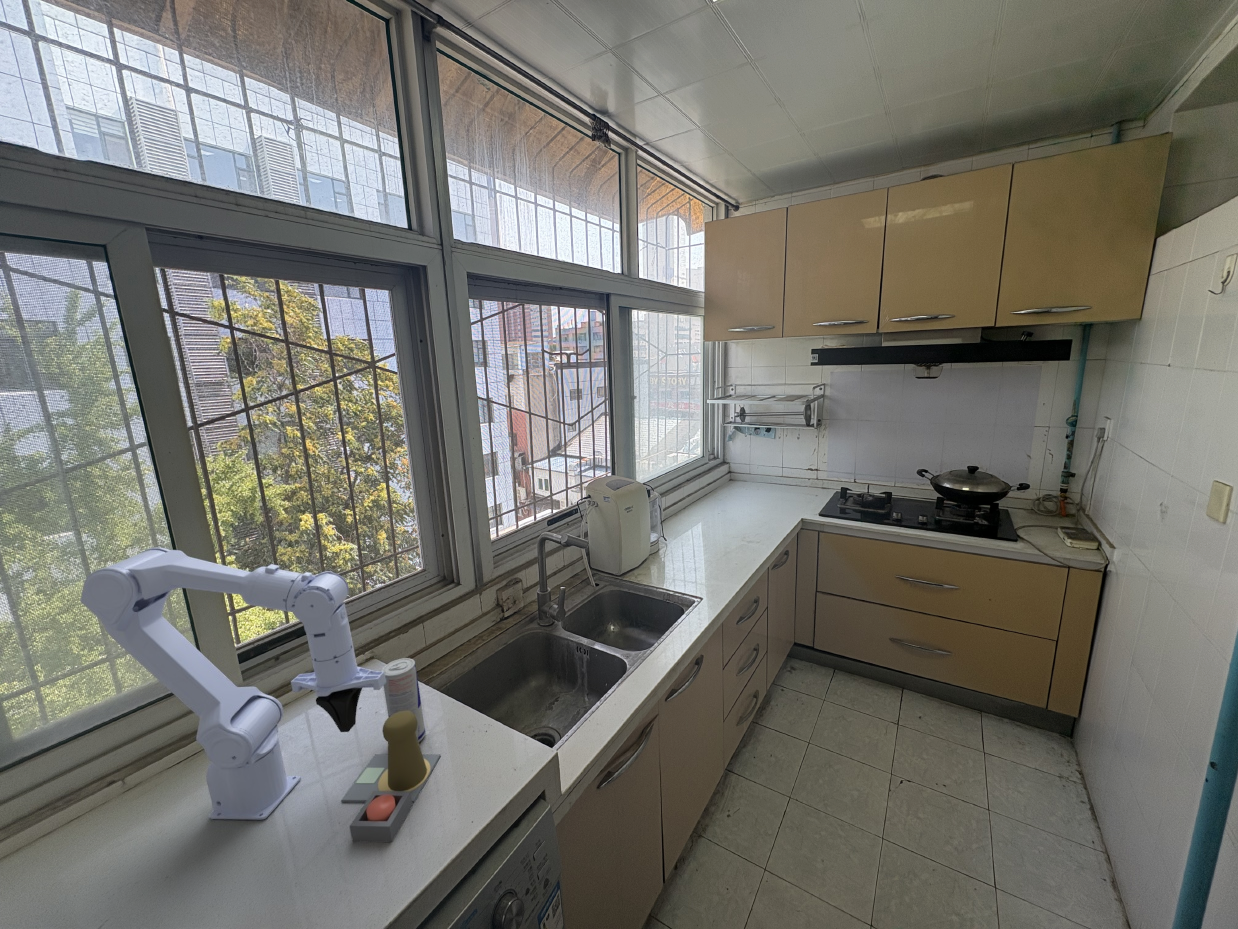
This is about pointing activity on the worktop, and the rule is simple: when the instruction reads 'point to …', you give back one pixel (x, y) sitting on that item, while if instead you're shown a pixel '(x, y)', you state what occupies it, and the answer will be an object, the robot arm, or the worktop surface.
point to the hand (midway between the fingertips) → (348, 727)
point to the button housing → (381, 829)
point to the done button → (381, 808)
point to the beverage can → (403, 691)
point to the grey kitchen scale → (383, 778)
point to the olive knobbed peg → (403, 752)
